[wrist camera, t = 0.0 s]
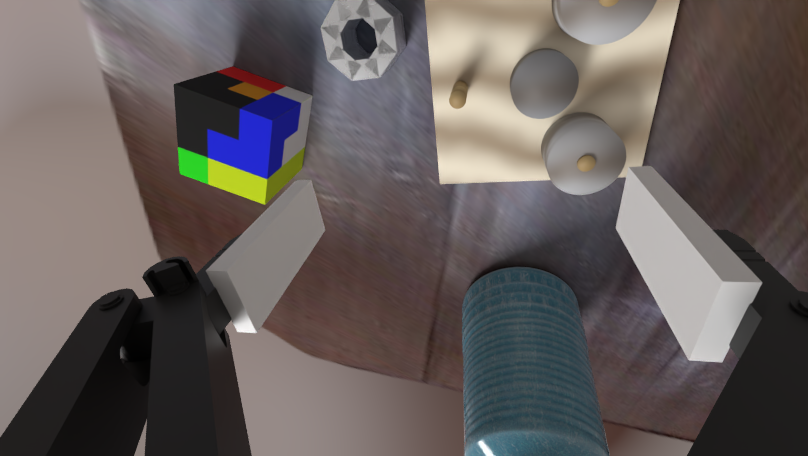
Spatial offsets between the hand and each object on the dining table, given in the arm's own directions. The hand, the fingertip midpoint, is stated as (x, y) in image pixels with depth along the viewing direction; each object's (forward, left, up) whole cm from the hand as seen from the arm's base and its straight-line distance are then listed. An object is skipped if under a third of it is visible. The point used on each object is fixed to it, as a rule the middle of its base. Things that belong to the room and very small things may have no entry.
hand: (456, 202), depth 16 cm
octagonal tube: (-5, -10, -28) cm, 30 cm away
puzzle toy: (+3, -25, -28) cm, 38 cm away
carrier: (+1, +7, -28) cm, 29 cm away
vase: (+33, +6, -28) cm, 44 cm away
